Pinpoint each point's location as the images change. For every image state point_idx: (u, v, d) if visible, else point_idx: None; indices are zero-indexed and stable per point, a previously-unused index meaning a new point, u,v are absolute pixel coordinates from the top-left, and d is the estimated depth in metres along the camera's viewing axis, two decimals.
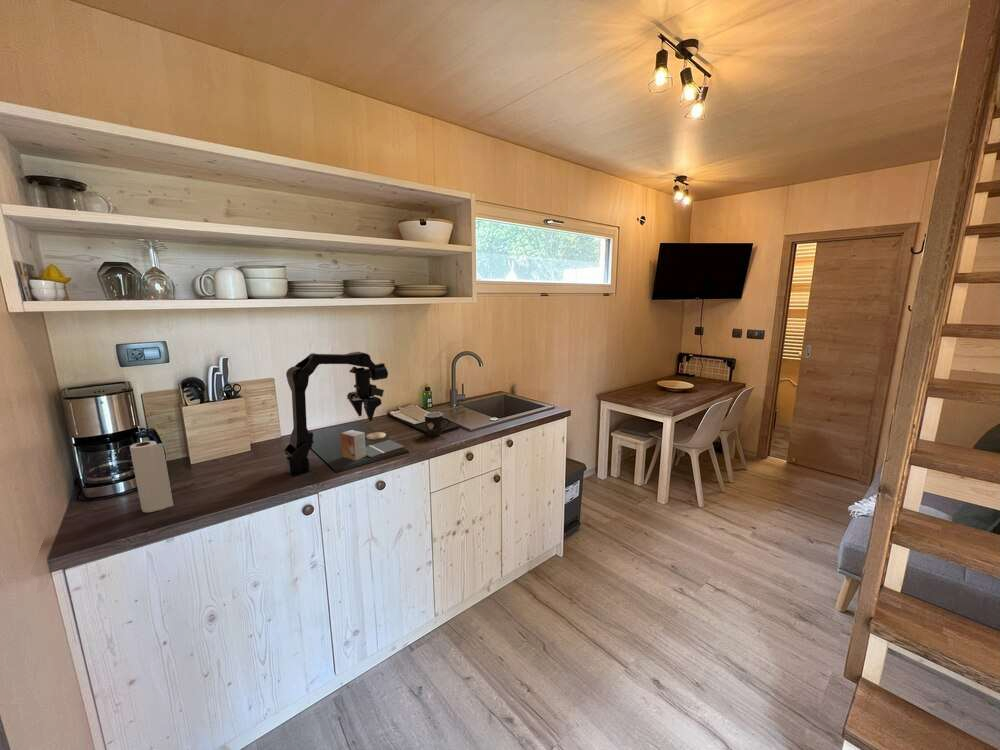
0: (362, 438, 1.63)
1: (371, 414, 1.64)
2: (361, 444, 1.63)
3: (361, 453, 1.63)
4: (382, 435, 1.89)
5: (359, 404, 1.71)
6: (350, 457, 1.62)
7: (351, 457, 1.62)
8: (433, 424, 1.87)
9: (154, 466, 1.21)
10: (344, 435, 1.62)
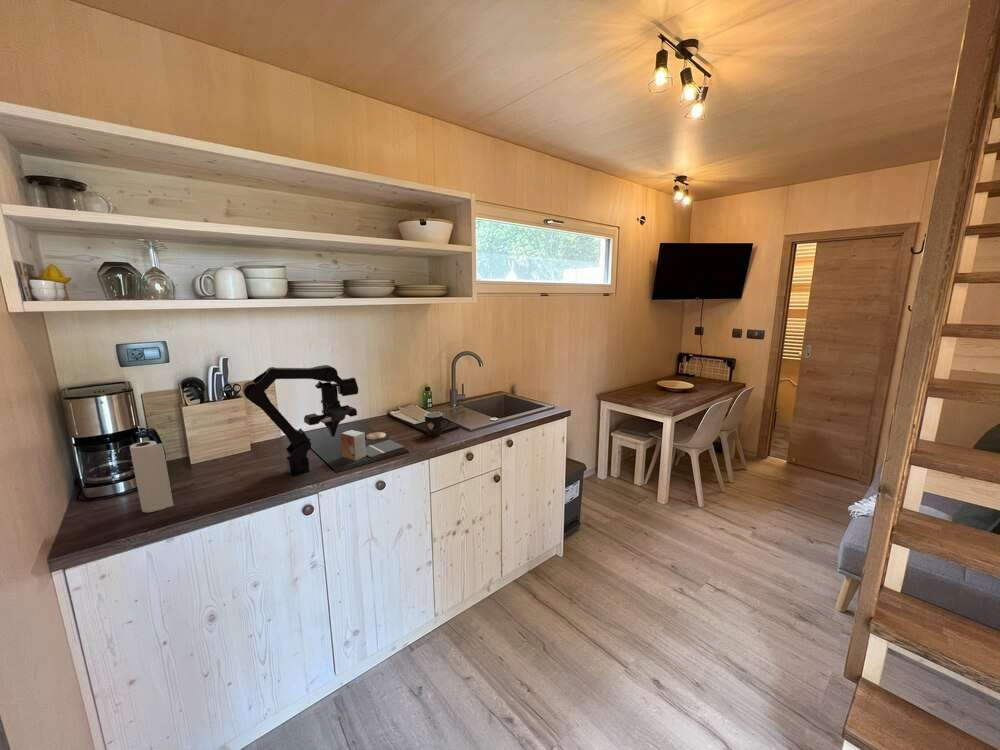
0: (362, 438, 1.63)
1: (329, 430, 1.56)
2: (361, 444, 1.63)
3: (361, 453, 1.63)
4: (382, 435, 1.89)
5: (333, 423, 1.56)
6: (350, 457, 1.62)
7: (351, 457, 1.62)
8: (433, 424, 1.87)
9: (154, 466, 1.21)
10: (344, 435, 1.62)
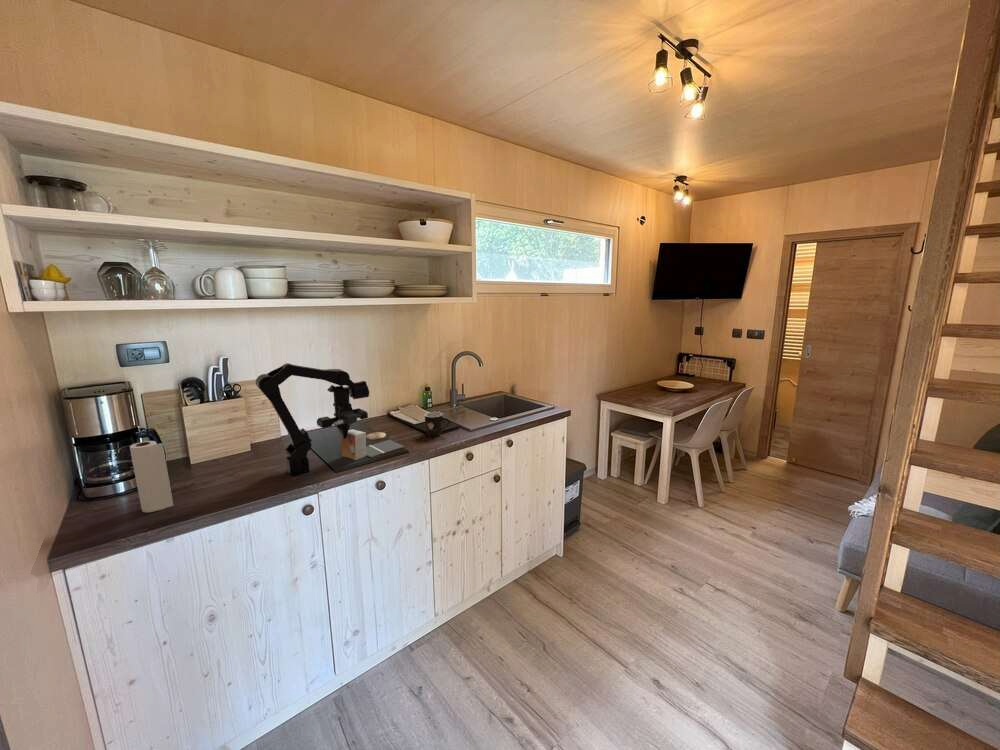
0: (363, 437, 1.63)
1: (341, 432, 1.60)
2: (362, 443, 1.63)
3: (361, 452, 1.63)
4: (382, 435, 1.89)
5: (344, 426, 1.60)
6: (350, 456, 1.62)
7: (351, 456, 1.62)
8: (433, 424, 1.87)
9: (154, 466, 1.21)
10: None
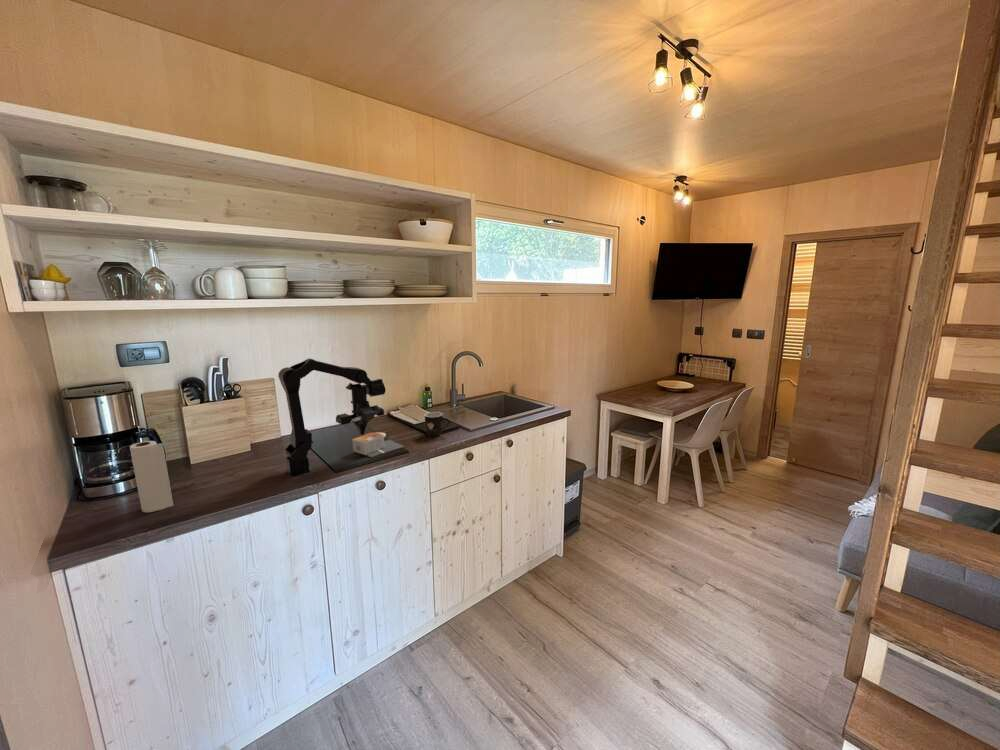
0: (380, 445, 1.72)
1: (358, 428, 1.65)
2: (376, 446, 1.70)
3: (369, 448, 1.66)
4: None
5: (362, 423, 1.65)
6: (361, 440, 1.66)
7: (362, 441, 1.66)
8: (433, 424, 1.87)
9: (154, 466, 1.21)
10: (374, 433, 1.75)
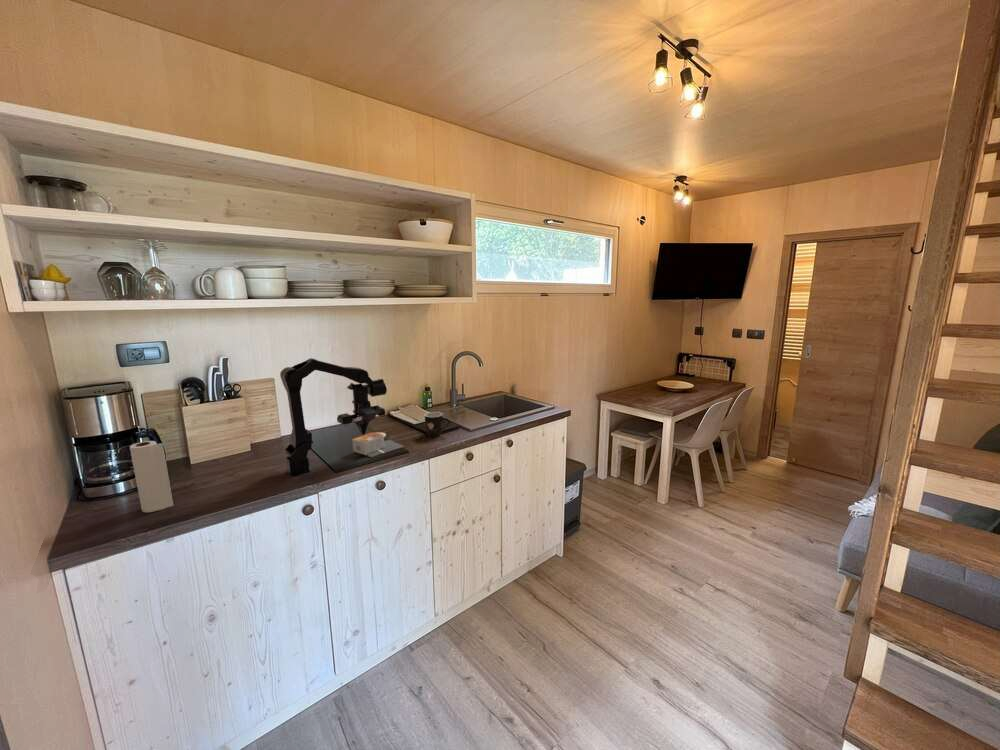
0: (380, 445, 1.72)
1: (360, 428, 1.65)
2: (376, 446, 1.70)
3: (369, 448, 1.66)
4: None
5: (363, 422, 1.66)
6: (361, 440, 1.66)
7: (362, 441, 1.66)
8: (433, 424, 1.87)
9: (154, 466, 1.21)
10: (374, 433, 1.75)
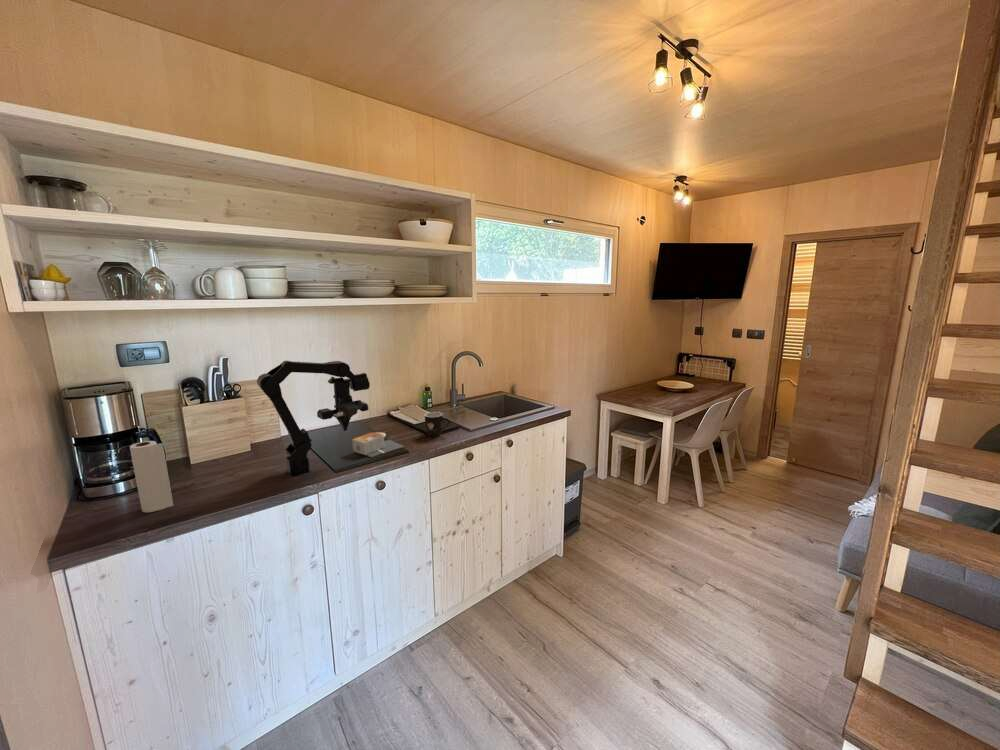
0: (380, 445, 1.72)
1: (341, 424, 1.59)
2: (376, 446, 1.70)
3: (369, 448, 1.66)
4: None
5: (345, 418, 1.60)
6: (361, 440, 1.66)
7: (362, 441, 1.66)
8: (433, 424, 1.87)
9: (154, 466, 1.21)
10: (374, 433, 1.75)
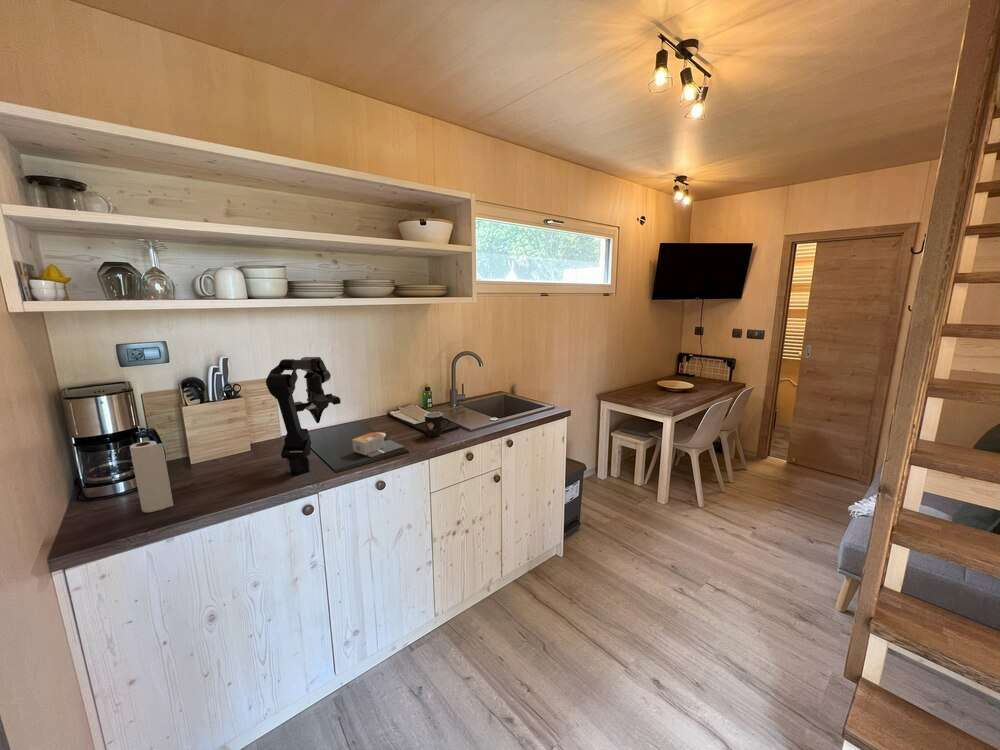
0: (380, 445, 1.72)
1: (314, 417, 1.67)
2: (376, 446, 1.70)
3: (369, 448, 1.66)
4: None
5: (318, 411, 1.67)
6: (361, 440, 1.66)
7: (362, 441, 1.66)
8: (433, 424, 1.87)
9: (154, 466, 1.21)
10: (374, 433, 1.75)
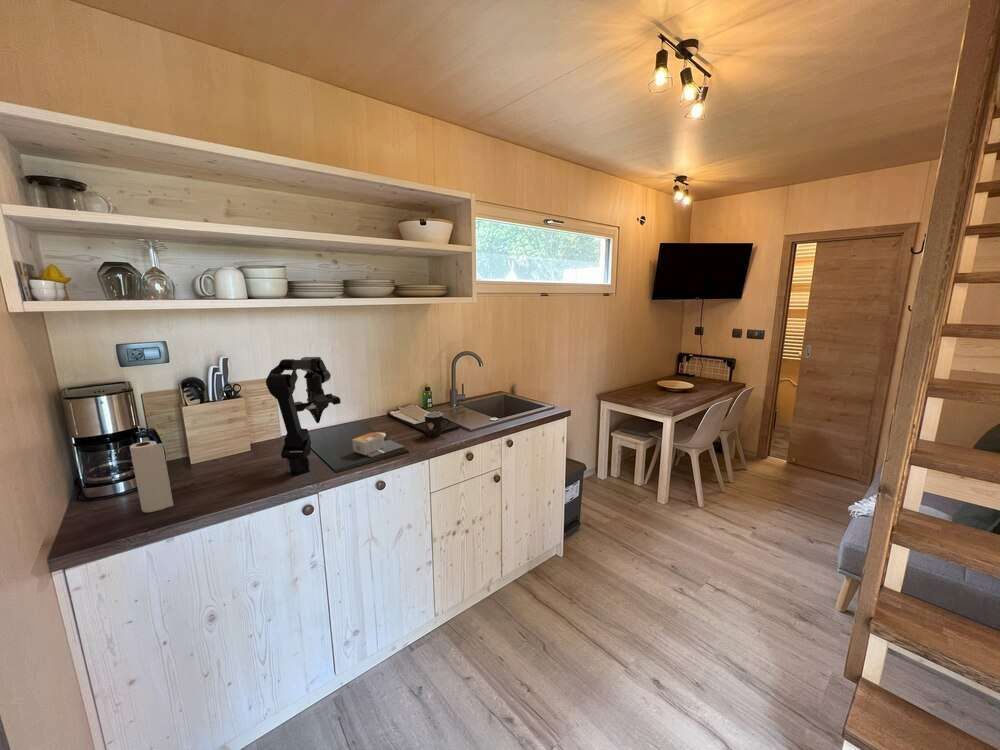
0: (380, 445, 1.72)
1: (314, 417, 1.67)
2: (376, 446, 1.70)
3: (369, 448, 1.66)
4: None
5: (318, 411, 1.67)
6: (361, 440, 1.66)
7: (362, 441, 1.66)
8: (433, 424, 1.87)
9: (154, 466, 1.21)
10: (374, 433, 1.75)
